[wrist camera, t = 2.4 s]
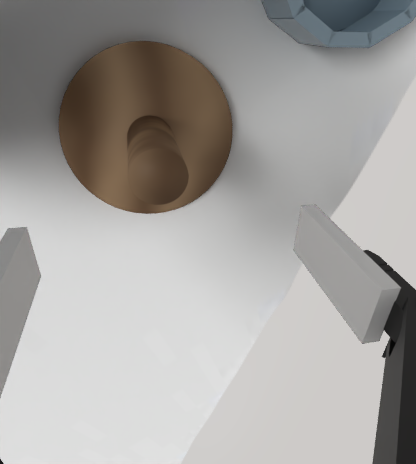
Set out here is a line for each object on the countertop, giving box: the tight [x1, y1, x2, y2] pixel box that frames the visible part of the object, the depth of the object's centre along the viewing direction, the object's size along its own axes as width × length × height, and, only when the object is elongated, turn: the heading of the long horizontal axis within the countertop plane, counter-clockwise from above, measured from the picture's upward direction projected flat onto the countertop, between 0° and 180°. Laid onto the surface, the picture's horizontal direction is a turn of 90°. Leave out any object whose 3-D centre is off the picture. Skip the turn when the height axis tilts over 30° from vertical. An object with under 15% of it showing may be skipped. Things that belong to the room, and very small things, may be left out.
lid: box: [59, 41, 232, 214], centre depth 27 cm, size 15×15×10 cm
